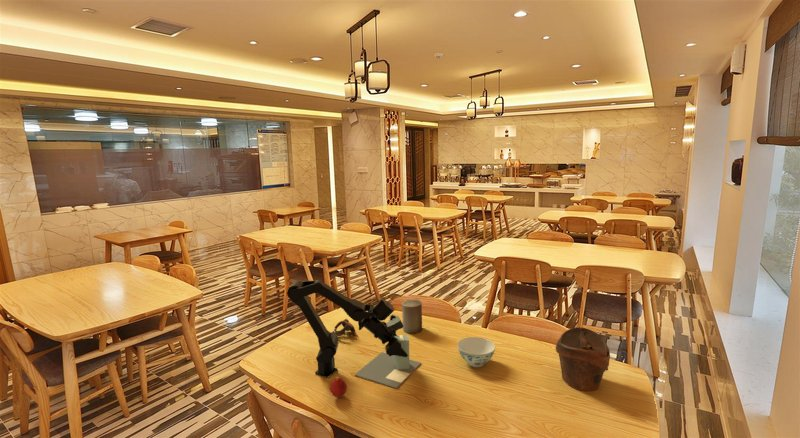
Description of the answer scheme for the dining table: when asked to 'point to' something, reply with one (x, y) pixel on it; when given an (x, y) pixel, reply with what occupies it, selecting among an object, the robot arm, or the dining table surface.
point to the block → (399, 360)
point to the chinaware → (476, 350)
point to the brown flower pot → (582, 358)
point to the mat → (386, 371)
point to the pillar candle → (412, 316)
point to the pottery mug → (346, 326)
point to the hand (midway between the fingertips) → (405, 350)
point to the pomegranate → (338, 387)
